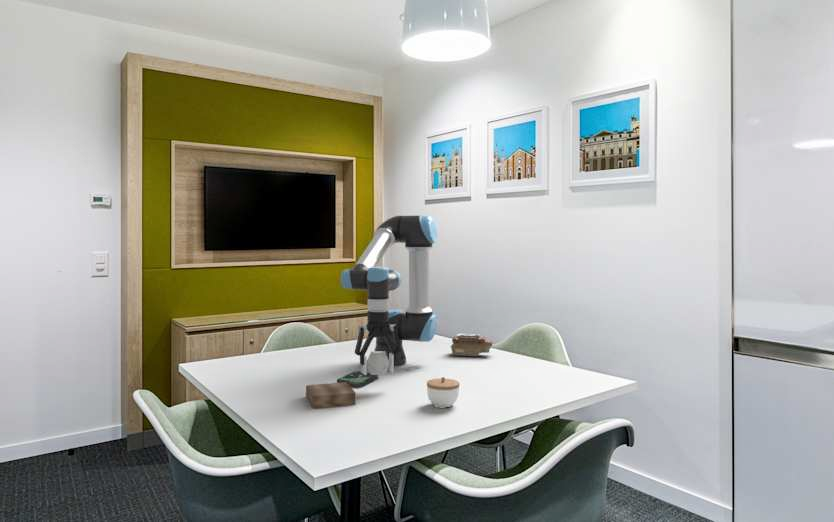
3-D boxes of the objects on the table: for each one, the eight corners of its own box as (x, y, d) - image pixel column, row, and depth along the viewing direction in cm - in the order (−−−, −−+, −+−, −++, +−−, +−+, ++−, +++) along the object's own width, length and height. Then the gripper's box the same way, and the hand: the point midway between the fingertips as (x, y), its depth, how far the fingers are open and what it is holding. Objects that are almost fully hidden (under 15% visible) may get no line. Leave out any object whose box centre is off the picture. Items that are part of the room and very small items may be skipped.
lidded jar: (425, 401, 190) (425, 373, 190) (456, 400, 191) (456, 373, 191) (428, 410, 179) (428, 381, 179) (461, 410, 180) (461, 381, 180)
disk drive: (355, 377, 223) (336, 386, 210) (355, 370, 223) (336, 378, 209) (378, 380, 219) (361, 389, 206) (378, 373, 219) (361, 381, 206)
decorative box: (455, 351, 276) (455, 331, 275) (495, 354, 270) (496, 333, 269) (448, 356, 263) (448, 335, 263) (491, 359, 257) (491, 338, 257)
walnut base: (345, 393, 198) (346, 382, 198) (355, 404, 185) (355, 392, 185) (306, 396, 194) (306, 385, 193) (312, 408, 180) (313, 396, 180)
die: (380, 380, 195) (395, 356, 197) (359, 366, 196) (374, 343, 198) (381, 382, 202) (395, 359, 205) (361, 369, 204) (375, 346, 206)
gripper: (404, 307, 206) (403, 367, 208) (345, 310, 199) (345, 372, 200) (410, 310, 199) (410, 372, 201) (350, 313, 192) (350, 378, 193)
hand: (378, 372), depth 201 cm, fingers closed on die, 9 cm apart
